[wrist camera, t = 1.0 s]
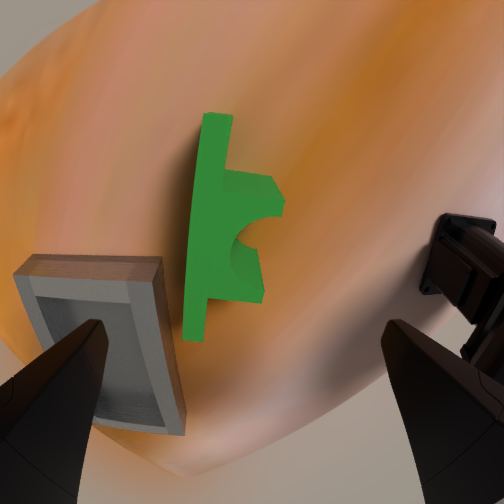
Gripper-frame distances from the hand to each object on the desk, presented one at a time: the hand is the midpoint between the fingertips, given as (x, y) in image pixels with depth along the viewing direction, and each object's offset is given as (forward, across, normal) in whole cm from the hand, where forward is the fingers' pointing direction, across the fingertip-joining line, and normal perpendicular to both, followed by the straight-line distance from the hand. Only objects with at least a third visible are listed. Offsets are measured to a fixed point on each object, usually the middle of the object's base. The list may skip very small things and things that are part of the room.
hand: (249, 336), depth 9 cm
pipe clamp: (+10, +1, 0) cm, 10 cm away
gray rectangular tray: (+9, +10, +11) cm, 17 cm away
